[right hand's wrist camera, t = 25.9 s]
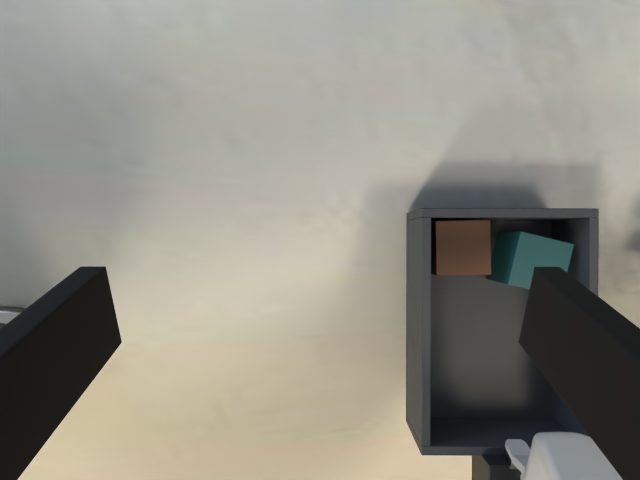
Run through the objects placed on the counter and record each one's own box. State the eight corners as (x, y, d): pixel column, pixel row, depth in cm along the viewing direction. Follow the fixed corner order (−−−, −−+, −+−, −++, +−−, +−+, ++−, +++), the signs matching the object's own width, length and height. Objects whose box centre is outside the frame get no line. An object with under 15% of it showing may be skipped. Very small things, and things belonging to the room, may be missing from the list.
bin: (553, 456, 43) (610, 510, 34) (405, 455, 43) (426, 509, 34) (554, 213, 43) (612, 207, 34) (406, 212, 43) (427, 206, 34)
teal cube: (544, 243, 42) (532, 290, 42) (497, 232, 42) (485, 279, 42) (574, 244, 37) (561, 297, 37) (520, 231, 37) (507, 284, 37)
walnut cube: (471, 270, 42) (491, 274, 37) (423, 271, 42) (436, 275, 37) (470, 222, 42) (490, 219, 37) (422, 222, 42) (435, 220, 37)
